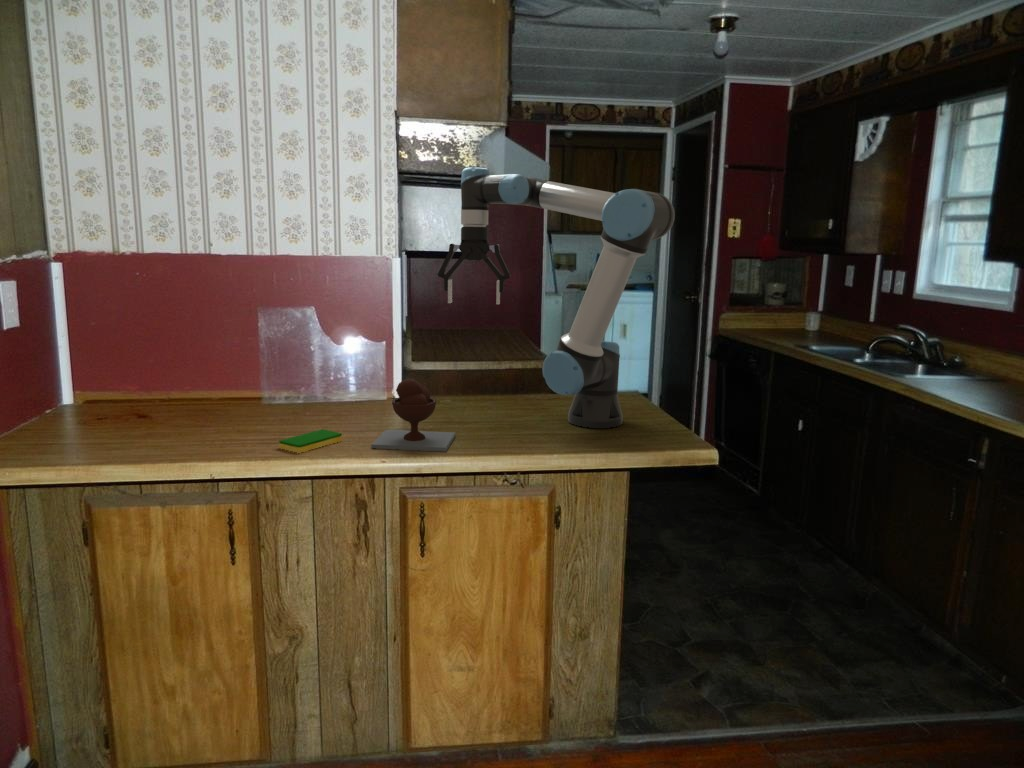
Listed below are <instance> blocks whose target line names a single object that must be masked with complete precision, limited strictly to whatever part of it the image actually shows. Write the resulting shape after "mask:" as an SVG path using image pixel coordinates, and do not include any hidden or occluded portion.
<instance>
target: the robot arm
mask: <svg viewBox="0 0 1024 768" xmlns="http://www.w3.org/2000/svg"><path fill="white" fill-rule="evenodd" d="M460 180H461V181H460V191H461V192H460V196H461V197H460V198H461V207H460V208H461V209H460V225H462V226H461V228H460V244H456V243H455V244H454V243H450V244H449V246H448V247H449V248H448V252H447V254H446V257H445V259H444V260H443V263H442V264H441V266H440V268H439V271H438V272H437V276H438V278H441V279H443V281H444V282H443V285H444V287H443V288H444V291H445V292H447V304H452V303H453V278H451V277H452V276H453V274H454V273H456V271H457V269H458V268H460V266H461V265H462V263H464V261H466V260H467V261H477V262H478V261H482V260H483V262H484V263H485V264H486V265H487V266H488V267H489V269H490V270H491V271H492V272H493V274H494V275H495V276H496V277H497V278H498V280H496V293H495V295H496V298H495V299H496V300H495V301H496V303H495V304H496V305H501V293H504V291H505V280H508V279H510V278H511V275H512V274H511V273H510V271H509V268H508V267H507V264H506V262H505V261H504V258H503V256H502V254H501V249H500V248H501V247H500V245H499V244H494V245H493V244H492V245H489V228H488V227H487V226H489V205H493V204H494V205H496V204H497V205H499V204H501V205H514V206H515V205H516V206H528V207H533V208H538V209H545V210H548V211H553V212H554V211H555V212H559V213H562V214H568V215H572V216H577V217H582V218H586V219H592V220H596V221H601V223H602V228H603V229H602V232H601V234H600V239H601V241H602V244H603V247H602V250H601V252H600V255H599V257H598V259H597V262H596V264H595V267H594V270H593V272H592V274H591V276H590V277H591V278H590V279H589V282H588V284H587V287H586V290H585V293H584V295H583V297H582V300H581V302H580V305H579V307H578V310H577V313H576V314H575V317H574V320H573V323H572V324H571V328H570V330H569V332H568V333H564V334H563V335H562V336H561V337H560V339H559V342H558V344H557V346H556V350H554V351H552V352H550V353H549V354H548V355H547V356H546V357H545V359H544V360H543V364H542V377H543V378H544V381H545V383H546V385H547V386H548V387H549V389H550V390H552V391H553V392H554V393H556V394H558V395H561V396H569V395H570V396H571V395H572V396H573V395H574V396H573V400H572V402H571V405H570V408H569V410H568V413H567V416H568V417H567V422H568V423H569V424H571V425H573V424H574V426H576V425H577V426H576V427H580V426H582V427H581V428H587V427H589V428H588V429H611V428H610V427H613V428H616V426H617V427H620V426H622V425H621V424H623V418H624V417H623V411H622V408H621V403H620V400H619V396H618V391H619V390H618V389H619V374H620V373H619V370H620V358H621V354H620V345H619V343H617V342H616V341H615V342H614V341H607V340H604V337H605V335H606V333H607V331H608V328H609V326H610V323H611V321H612V319H613V316H614V313H615V311H616V309H617V307H618V304H619V303H620V300H621V297H622V294H623V292H624V290H625V288H626V285H627V283H628V281H629V278H630V276H631V273H632V270H633V268H634V266H635V264H636V260H637V259H638V258H640V257H643V256H645V255H646V253H647V251H648V248H649V246H650V244H651V241H654V240H659V239H661V238H663V237H664V236H666V235H667V234H668V233H669V231H670V230H671V229H672V227H673V225H674V222H675V215H676V214H675V208H674V206H673V203H672V202H671V201H670V199H669V198H668V197H667V196H665V195H664V194H662V193H660V192H656V191H655V192H654V191H648V190H643V189H638V188H629V189H622V190H620V191H617V192H610V191H605V190H600V189H594V188H588V187H583V186H579V185H578V186H577V185H574V184H573V185H572V184H565V183H562V182H556V181H550V180H549V181H548V180H544V179H542V178H536V177H525V176H524V175H522V174H519V173H508V174H494V175H493V174H490V171H489V169H488V168H485V167H465V168H464V169H462V171H461V179H460ZM458 250H459V251H460V252H461V256H459V258H458V259H457V260H456V262H454V264H453V265H452V266H451V267H450V269H449V270H448V271H447V272H446V270H447V268H448V266H449V265H450V263H451V260H452V259H453V256H454V253H456V252H457V251H458ZM490 250H491V253H493V254H495V257H496V259H497V261H498V263H499V266H500V268H501V270H502V273H503V274H502V273H501V271H500V269H499V268H498V267H497V266H496V265H495V264H494V263H493V261H492V260H491V259H490V257H489V256H488V252H489V251H490ZM450 278H451V279H450ZM619 425H620V426H619Z"/></svg>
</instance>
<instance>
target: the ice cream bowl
mask: <svg viewBox="0 0 1024 768" xmlns="http://www.w3.org/2000/svg"><path fill="white" fill-rule="evenodd" d="M395 391H396V393H397V395H398V397H396V398H393V399H391V404H392V409H393V411H394V413H395V414H396V415H397V416H398V417H399V418H400V419H402V420H404V421H405V422H408V423H409V424H410V430H409V431H410V432H409V433H407V434H406V435H404V440H407V441H421V440H424V439H425V435H424V434H422V433H420V432H419V431H420V430H419V424H420V422H423V421H425V420H427V419H428V418H430V416H432V414H433V413H434V411H435V409H436V405H437V399H436V398H433V397H430V396H431V391H430V389H428V388H427V387H426V386H425V385H424V384H422V383H420V382H419V381H417V380H416V378H406V379H402V381H400V382H398V384H397V386H396V389H395Z"/></svg>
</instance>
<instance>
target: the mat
mask: <svg viewBox="0 0 1024 768" xmlns="http://www.w3.org/2000/svg"><path fill="white" fill-rule="evenodd" d="M410 431H411V430H407V429H406V430H403V429H399V430H398V429H385V430H384V431H383V432H382V433H381V434H380V435H379V436H378V437H377V438H376V439H375V440H374V441H373V442H372V443H371V445H370V448H371V449H373V448H376V449H377V450H395V449H399V451H418V450H419V451H420V452H421V451H423V452H444V453H445V452H447V451H448V449H449V447H450V445H452V442H453V441H454V439H455V437H456V432H454V431H453V432H452V431H449V432H447V431H429V430H428V431H426V430H425V431H423V430H418V431H419V432H420V433H422V434H424V435H425V439H424V440H421V441H407V440H404V435H406V434H407V433H409V432H410ZM376 449H375V450H376ZM419 451H418V452H419Z"/></svg>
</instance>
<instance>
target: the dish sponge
mask: <svg viewBox="0 0 1024 768" xmlns="http://www.w3.org/2000/svg"><path fill="white" fill-rule="evenodd" d="M340 441H341V442H342V441H343V434H342V433H341V432H337V431H332V430H328V429H324V428H323V429H322V428H321V429H319V430H313V431H311V432H307V433H303V434H300V435H295V436H293V437H288V438H283V439H281V440H279V441H278V442H279V443H278V445H279V448H281V449H280V450H282V449H285V450H284V451H286V450H289V451H288V452H290V451H293V452H292V453H294V452H297V453H296V454H298V453H300V454H302V453H301V452H304V451H307V452H309V451H308V450H311V449H314V448H318V447H321V448H323V447H322V446H324V447H326V446H325V445H328V446H330V445H329V444H331V445H334V444H333V443H335V444H338V443H341V442H340ZM337 442H338V443H337ZM318 449H319V448H318ZM314 450H315V449H314ZM311 451H312V450H311ZM304 453H305V452H304Z"/></svg>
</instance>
